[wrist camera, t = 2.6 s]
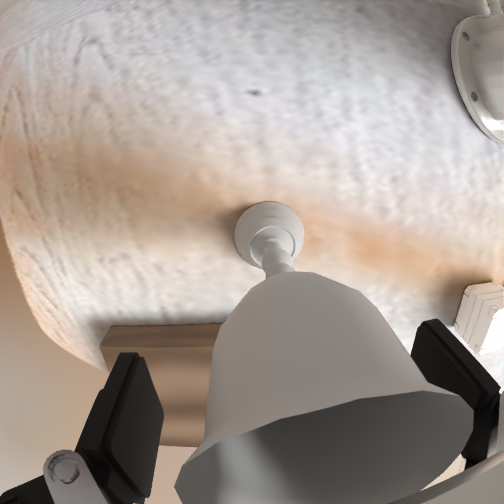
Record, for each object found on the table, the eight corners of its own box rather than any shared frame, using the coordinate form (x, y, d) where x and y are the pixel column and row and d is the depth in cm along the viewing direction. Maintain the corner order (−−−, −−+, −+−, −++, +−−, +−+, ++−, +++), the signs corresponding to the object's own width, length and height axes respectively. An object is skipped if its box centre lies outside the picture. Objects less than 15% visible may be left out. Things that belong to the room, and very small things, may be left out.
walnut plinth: (111, 325, 24) (99, 346, 21) (273, 319, 24) (277, 342, 21) (151, 424, 29) (147, 444, 26) (276, 422, 29) (278, 443, 26)
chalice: (203, 210, 21) (99, 450, 4) (294, 170, 20) (495, 314, 3) (247, 295, 23) (258, 542, 6) (329, 261, 23) (455, 477, 6)
